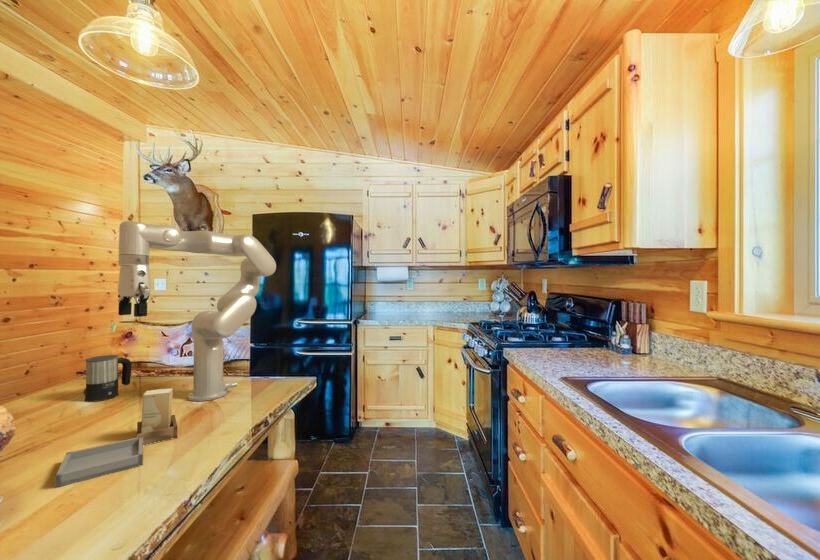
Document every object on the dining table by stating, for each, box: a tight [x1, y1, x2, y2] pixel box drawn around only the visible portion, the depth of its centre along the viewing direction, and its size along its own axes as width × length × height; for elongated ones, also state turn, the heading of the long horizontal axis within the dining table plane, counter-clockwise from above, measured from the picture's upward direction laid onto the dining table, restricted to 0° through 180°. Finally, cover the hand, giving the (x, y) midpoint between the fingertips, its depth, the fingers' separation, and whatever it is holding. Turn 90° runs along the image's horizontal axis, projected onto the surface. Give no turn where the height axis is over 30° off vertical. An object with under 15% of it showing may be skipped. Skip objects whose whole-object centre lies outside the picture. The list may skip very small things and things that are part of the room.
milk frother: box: [82, 354, 132, 403], centre depth 125 cm, size 14×16×15 cm
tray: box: [55, 437, 144, 488], centre depth 78 cm, size 14×12×2 cm
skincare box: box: [140, 388, 174, 434], centre depth 93 cm, size 6×4×12 cm
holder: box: [136, 414, 178, 446], centre depth 93 cm, size 9×11×3 cm
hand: (132, 315), depth 105 cm, fingers open, 9 cm apart
